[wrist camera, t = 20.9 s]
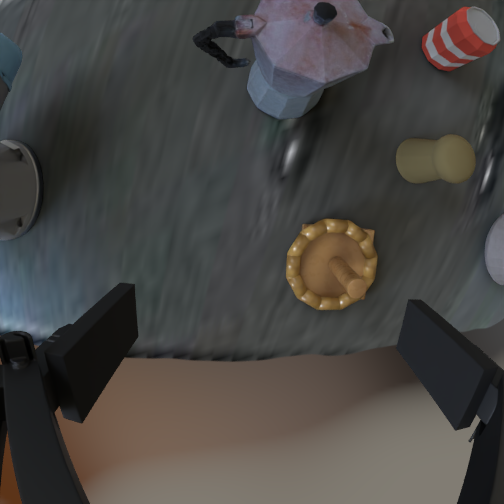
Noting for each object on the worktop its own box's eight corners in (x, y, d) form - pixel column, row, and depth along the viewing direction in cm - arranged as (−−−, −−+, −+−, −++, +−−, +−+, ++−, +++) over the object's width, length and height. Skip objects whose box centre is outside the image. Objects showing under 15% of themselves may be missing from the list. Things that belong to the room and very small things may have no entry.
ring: (283, 306, 40) (284, 311, 38) (288, 216, 37) (289, 218, 36) (368, 306, 40) (372, 311, 38) (378, 220, 37) (382, 222, 36)
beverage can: (411, 44, 33) (454, 11, 21) (435, 28, 32) (478, -3, 20) (439, 79, 34) (489, 56, 22) (461, 61, 33) (509, 38, 21)
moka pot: (349, 119, 36) (429, 73, 16) (223, 133, 36) (189, 90, 17) (335, 49, 34) (391, -35, 14) (213, 62, 34) (176, -26, 15)
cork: (439, 151, 36) (489, 147, 25) (425, 191, 37) (473, 198, 27) (404, 129, 36) (449, 117, 25) (389, 171, 37) (432, 170, 26)
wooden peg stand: (295, 293, 41) (306, 329, 31) (302, 223, 39) (317, 239, 29) (361, 296, 41) (389, 330, 31) (371, 229, 39) (405, 246, 29)
